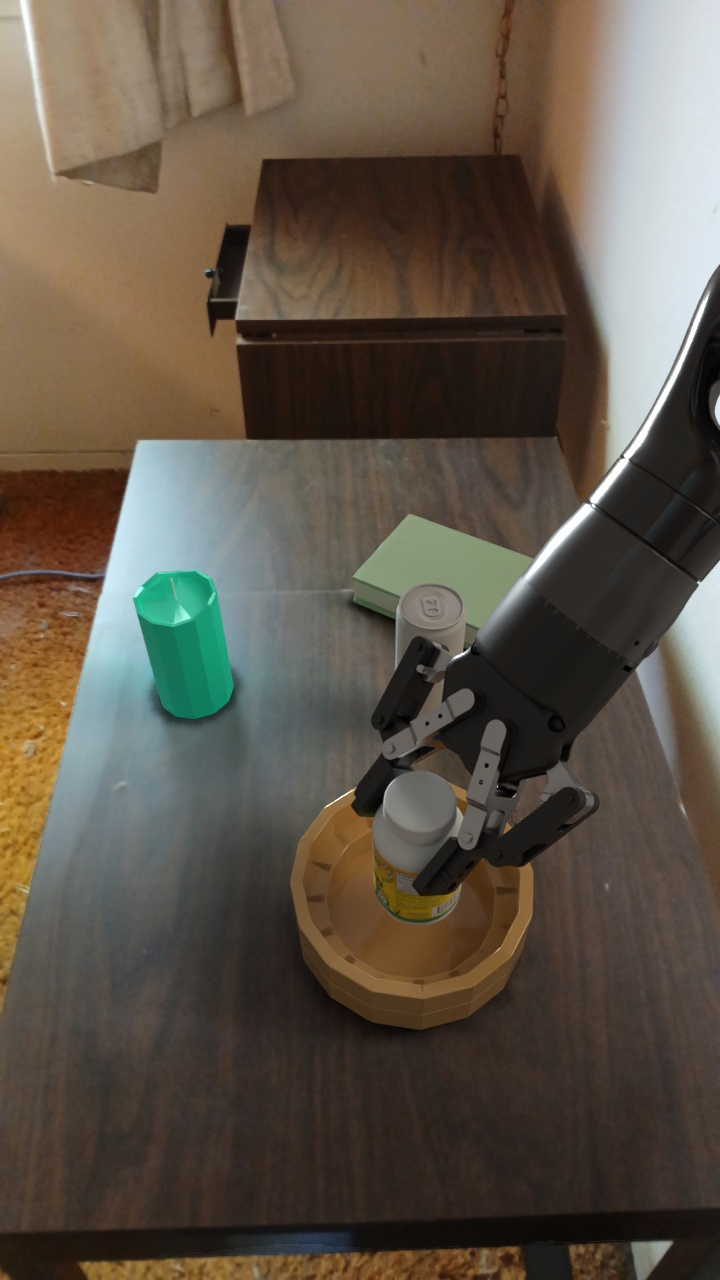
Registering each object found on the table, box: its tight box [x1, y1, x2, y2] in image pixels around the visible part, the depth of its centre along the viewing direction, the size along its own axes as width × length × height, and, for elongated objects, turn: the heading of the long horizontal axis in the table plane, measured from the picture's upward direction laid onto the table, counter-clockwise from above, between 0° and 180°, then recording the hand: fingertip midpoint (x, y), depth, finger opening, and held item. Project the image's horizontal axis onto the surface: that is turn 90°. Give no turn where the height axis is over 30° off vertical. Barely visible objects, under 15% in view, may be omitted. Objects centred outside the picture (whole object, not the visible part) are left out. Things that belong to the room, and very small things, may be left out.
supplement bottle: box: [372, 770, 463, 926], centre depth 52 cm, size 5×5×10 cm
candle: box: [132, 569, 235, 720], centre depth 67 cm, size 6×6×12 cm
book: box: [352, 513, 534, 650], centre depth 77 cm, size 13×10×3 cm
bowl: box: [289, 781, 534, 1031], centre depth 56 cm, size 15×15×5 cm
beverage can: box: [394, 583, 466, 718], centre depth 65 cm, size 5×5×12 cm
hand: (393, 850), depth 50 cm, fingers closed on supplement bottle, 5 cm apart
